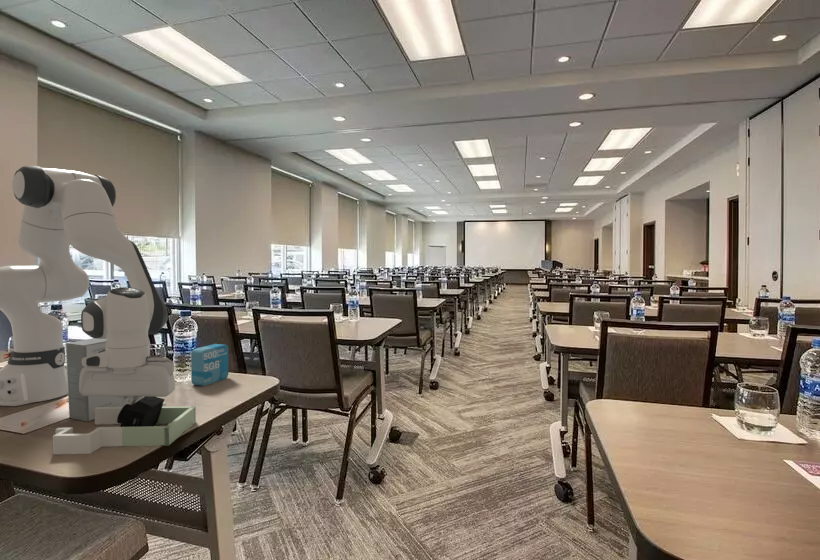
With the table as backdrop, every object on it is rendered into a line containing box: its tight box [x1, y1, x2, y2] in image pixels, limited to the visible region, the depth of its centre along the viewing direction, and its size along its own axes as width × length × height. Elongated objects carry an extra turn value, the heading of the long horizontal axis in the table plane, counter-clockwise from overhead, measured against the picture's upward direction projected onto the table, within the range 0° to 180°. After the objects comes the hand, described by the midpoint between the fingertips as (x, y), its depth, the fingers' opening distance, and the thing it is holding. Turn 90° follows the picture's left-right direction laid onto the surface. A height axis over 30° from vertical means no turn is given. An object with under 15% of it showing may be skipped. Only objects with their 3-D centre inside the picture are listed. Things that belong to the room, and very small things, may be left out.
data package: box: [190, 343, 229, 387], centre depth 144 cm, size 12×4×12 cm, turn 161°
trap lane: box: [52, 401, 197, 455], centre depth 102 cm, size 24×21×4 cm
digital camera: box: [117, 397, 166, 427], centre depth 102 cm, size 10×5×7 cm, turn 7°
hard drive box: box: [65, 337, 143, 422], centre depth 116 cm, size 16×8×20 cm, turn 159°
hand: (128, 413), depth 102 cm, fingers closed, pressing on digital camera
